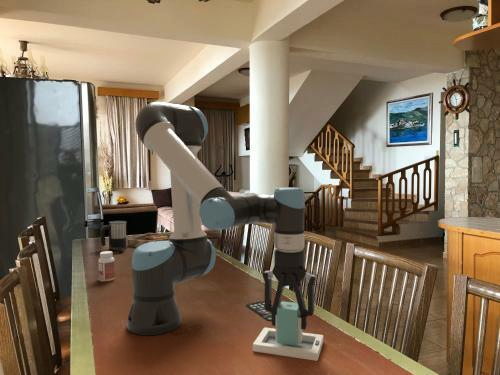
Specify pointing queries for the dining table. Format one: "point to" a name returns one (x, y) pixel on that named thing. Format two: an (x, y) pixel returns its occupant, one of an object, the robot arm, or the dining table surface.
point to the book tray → (142, 239)
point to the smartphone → (260, 310)
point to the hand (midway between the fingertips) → (289, 339)
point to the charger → (287, 323)
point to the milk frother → (115, 235)
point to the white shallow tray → (303, 350)
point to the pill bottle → (106, 266)
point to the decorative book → (157, 238)
